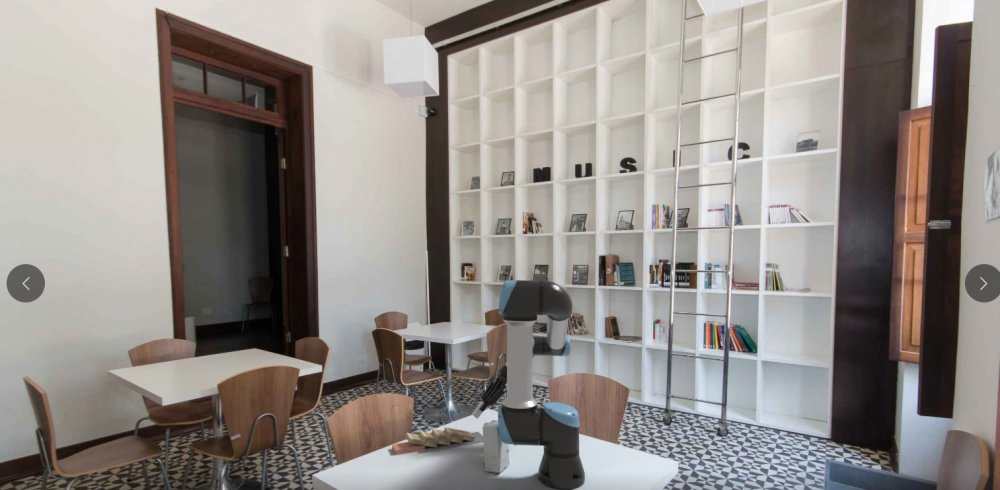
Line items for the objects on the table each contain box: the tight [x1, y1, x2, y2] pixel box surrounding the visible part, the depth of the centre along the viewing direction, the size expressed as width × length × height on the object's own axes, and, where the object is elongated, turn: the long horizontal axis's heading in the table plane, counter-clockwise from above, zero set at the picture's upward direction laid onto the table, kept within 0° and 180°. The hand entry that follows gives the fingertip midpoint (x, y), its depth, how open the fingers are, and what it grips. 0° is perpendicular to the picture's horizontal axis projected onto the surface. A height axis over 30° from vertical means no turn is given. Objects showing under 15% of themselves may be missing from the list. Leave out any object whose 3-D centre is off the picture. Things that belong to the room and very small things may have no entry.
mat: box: [417, 431, 484, 454], centre depth 174 cm, size 28×11×1 cm, turn 115°
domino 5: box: [443, 426, 475, 441], centre depth 175 cm, size 2×6×11 cm
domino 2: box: [405, 432, 437, 447], centre depth 169 cm, size 2×6×11 cm
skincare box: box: [482, 419, 510, 474], centre depth 153 cm, size 8×6×15 cm
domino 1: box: [391, 441, 425, 456], centre depth 166 cm, size 2×6×11 cm
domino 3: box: [418, 430, 451, 445], centre depth 171 cm, size 2×6×11 cm
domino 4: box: [431, 428, 463, 443], centre depth 173 cm, size 2×6×11 cm
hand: (474, 416), depth 178 cm, fingers closed
